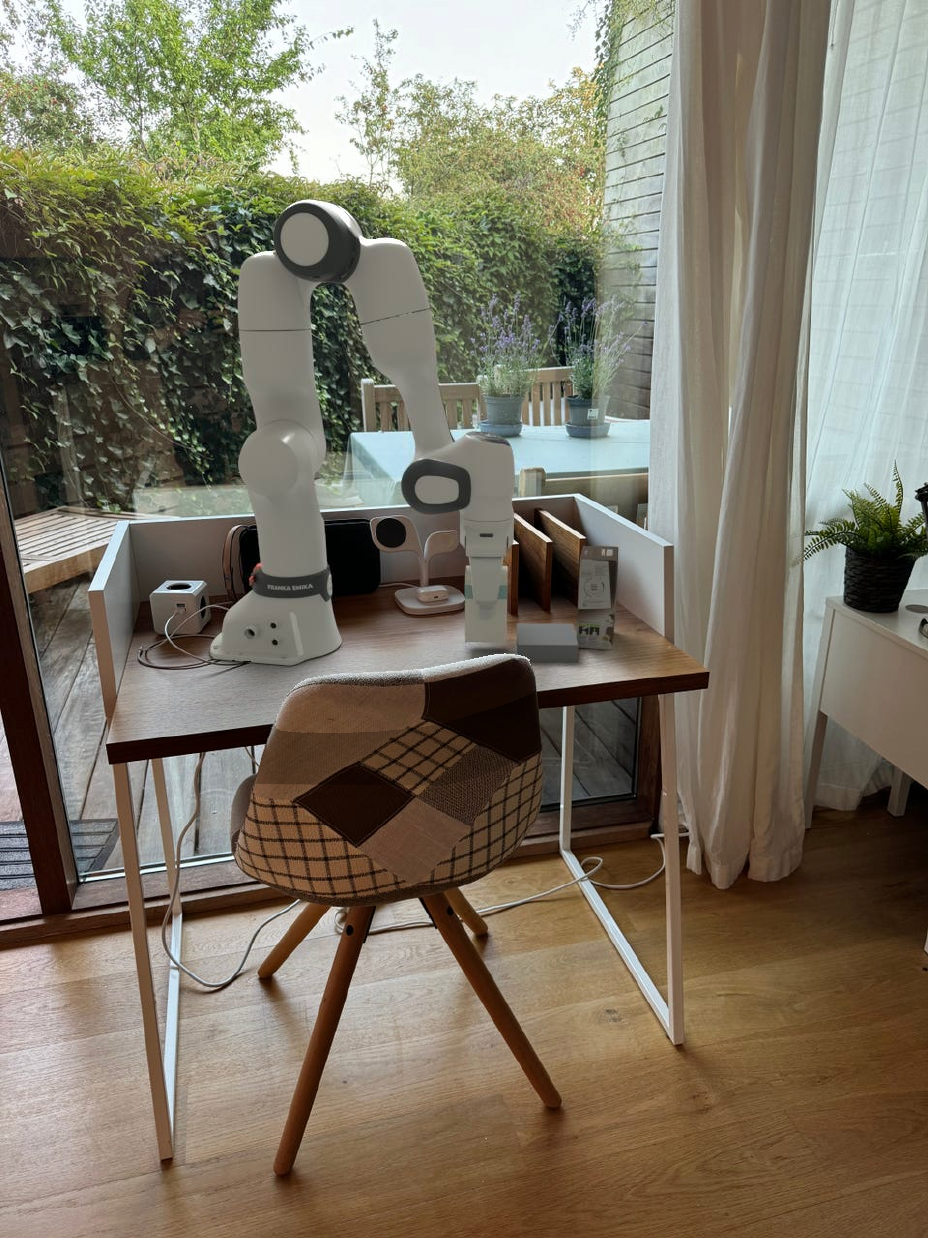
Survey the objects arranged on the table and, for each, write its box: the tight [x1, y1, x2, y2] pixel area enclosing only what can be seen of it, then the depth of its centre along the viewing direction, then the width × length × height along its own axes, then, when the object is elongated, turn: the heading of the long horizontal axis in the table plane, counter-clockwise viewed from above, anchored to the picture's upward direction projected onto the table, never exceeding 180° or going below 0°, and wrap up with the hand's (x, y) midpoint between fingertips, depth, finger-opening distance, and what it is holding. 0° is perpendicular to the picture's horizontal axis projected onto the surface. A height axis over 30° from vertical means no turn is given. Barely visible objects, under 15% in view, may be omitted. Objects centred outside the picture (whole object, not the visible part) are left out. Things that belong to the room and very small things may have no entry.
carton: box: [464, 565, 509, 644], centre depth 149 cm, size 7×5×12 cm
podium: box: [516, 623, 579, 663], centre depth 151 cm, size 10×10×3 cm
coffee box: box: [576, 545, 619, 651], centre depth 153 cm, size 9×6×16 cm
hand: (485, 611), depth 149 cm, fingers closed on carton, 5 cm apart
